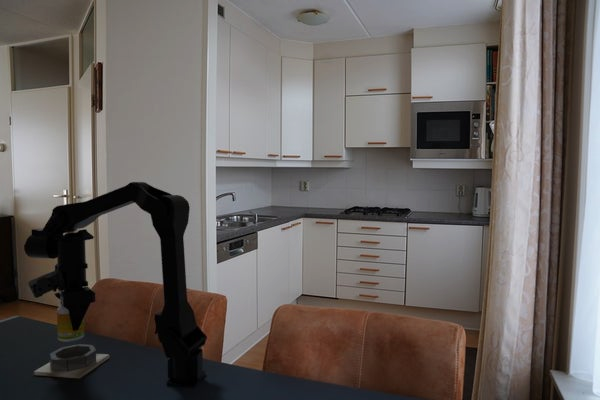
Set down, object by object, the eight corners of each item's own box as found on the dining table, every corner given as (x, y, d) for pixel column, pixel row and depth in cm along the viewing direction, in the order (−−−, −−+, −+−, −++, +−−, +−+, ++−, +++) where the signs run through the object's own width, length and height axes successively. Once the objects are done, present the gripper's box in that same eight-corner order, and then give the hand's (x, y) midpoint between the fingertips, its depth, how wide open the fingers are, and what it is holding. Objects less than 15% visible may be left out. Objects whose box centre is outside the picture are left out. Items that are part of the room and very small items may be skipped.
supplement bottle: (76, 342, 96) (75, 299, 95) (52, 342, 96) (51, 299, 95) (88, 333, 101) (87, 293, 100) (66, 333, 101) (65, 293, 101)
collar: (109, 357, 104) (109, 344, 103) (79, 378, 93) (79, 363, 93) (68, 354, 105) (67, 341, 105) (34, 374, 94) (33, 360, 94)
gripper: (26, 257, 100) (28, 323, 101) (34, 270, 86) (36, 347, 86) (79, 252, 107) (80, 314, 108) (95, 264, 92) (96, 335, 93)
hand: (73, 326), depth 98 cm, fingers closed on supplement bottle, 5 cm apart
